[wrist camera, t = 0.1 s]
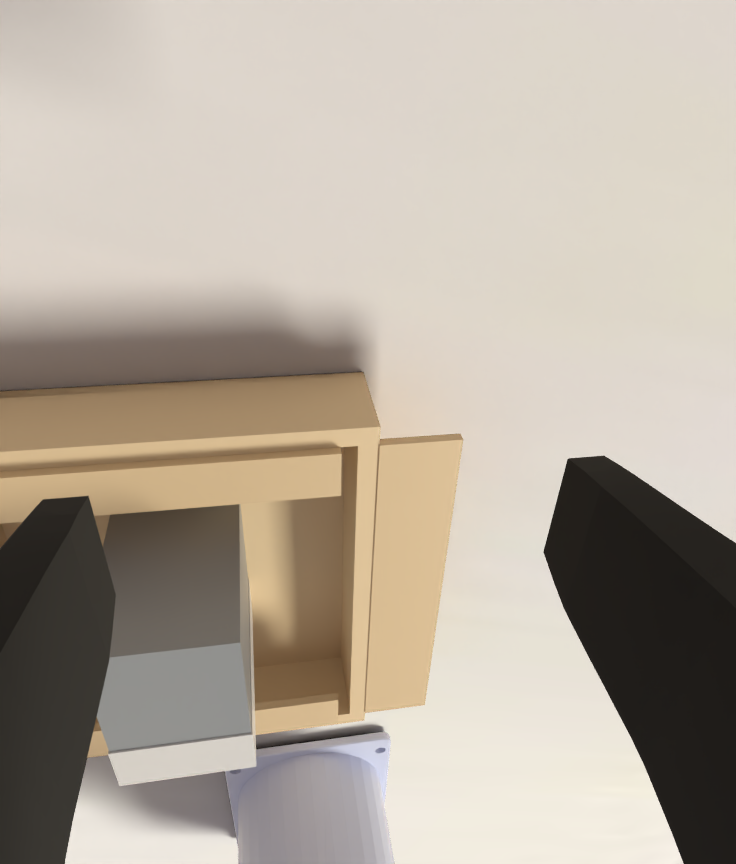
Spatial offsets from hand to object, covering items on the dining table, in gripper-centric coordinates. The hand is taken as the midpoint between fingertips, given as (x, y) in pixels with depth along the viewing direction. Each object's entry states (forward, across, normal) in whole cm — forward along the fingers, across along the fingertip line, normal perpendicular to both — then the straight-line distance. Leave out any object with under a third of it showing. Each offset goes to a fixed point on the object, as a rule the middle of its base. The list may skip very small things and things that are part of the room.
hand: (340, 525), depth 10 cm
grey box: (+10, +4, +10) cm, 15 cm away
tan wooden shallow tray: (+10, +4, +10) cm, 15 cm away
